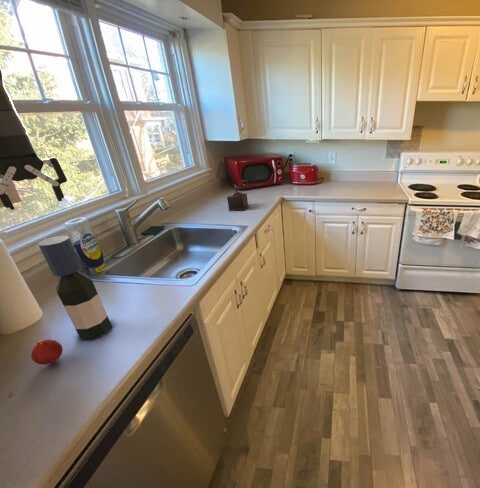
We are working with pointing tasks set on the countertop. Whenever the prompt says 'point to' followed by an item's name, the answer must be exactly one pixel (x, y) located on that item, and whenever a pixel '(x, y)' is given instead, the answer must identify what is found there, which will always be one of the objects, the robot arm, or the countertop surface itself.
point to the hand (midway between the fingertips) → (37, 204)
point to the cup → (60, 255)
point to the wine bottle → (83, 305)
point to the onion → (46, 352)
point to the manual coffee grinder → (238, 199)
